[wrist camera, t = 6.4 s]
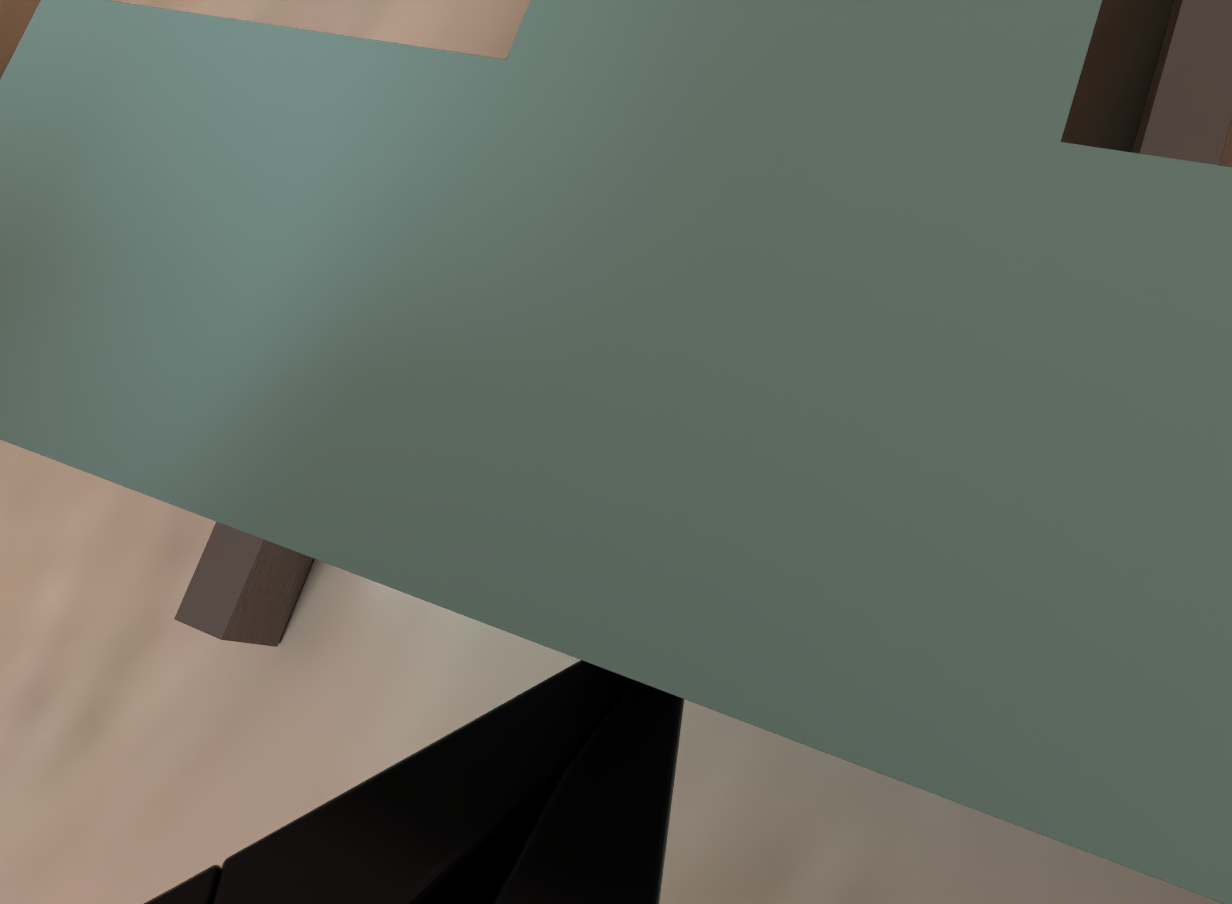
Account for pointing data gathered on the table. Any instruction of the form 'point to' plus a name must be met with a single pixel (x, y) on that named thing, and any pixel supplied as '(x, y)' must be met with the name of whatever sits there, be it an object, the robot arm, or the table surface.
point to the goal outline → (1170, 127)
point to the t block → (679, 363)
